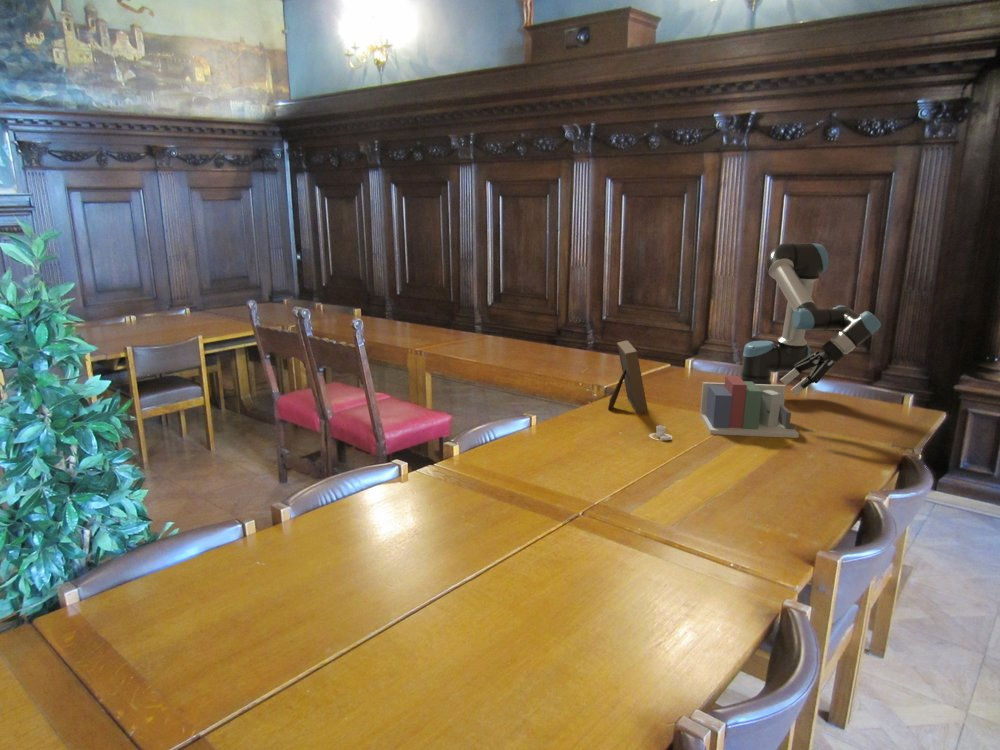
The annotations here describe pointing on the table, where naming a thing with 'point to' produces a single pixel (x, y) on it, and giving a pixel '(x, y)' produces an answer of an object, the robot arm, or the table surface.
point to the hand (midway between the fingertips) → (787, 387)
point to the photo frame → (630, 378)
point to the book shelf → (748, 431)
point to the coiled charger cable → (661, 434)
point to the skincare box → (769, 408)
